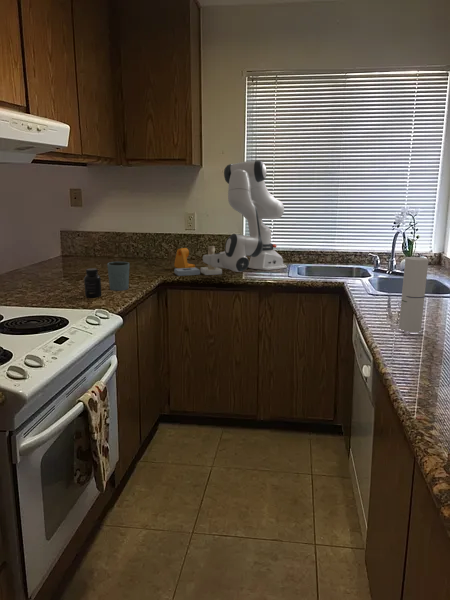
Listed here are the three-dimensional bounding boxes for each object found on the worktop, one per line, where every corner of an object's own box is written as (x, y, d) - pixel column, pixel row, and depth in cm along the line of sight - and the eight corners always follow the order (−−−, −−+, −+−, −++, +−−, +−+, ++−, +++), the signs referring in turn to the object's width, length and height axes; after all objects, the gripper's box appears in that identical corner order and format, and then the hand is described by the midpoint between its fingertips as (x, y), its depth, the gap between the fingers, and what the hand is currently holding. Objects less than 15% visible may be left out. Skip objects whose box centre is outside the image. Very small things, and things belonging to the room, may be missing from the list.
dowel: (213, 271, 271) (213, 245, 268) (215, 272, 268) (215, 246, 264) (207, 271, 270) (207, 246, 266) (209, 272, 267) (209, 247, 263)
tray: (216, 271, 275) (216, 266, 274) (221, 274, 266) (222, 269, 266) (200, 272, 272) (200, 267, 271) (205, 275, 263) (205, 270, 263)
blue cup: (118, 285, 236) (117, 260, 233) (135, 287, 231) (134, 262, 228) (103, 289, 227) (102, 263, 224) (121, 292, 223) (120, 265, 220)
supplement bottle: (88, 294, 217) (86, 267, 214) (103, 294, 217) (102, 267, 214) (83, 298, 211) (81, 270, 208) (99, 298, 210) (97, 270, 208)
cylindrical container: (415, 335, 163) (423, 261, 157) (395, 331, 168) (401, 258, 162) (423, 331, 168) (431, 258, 162) (403, 327, 173) (410, 256, 167)
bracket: (195, 269, 279) (195, 248, 276) (185, 271, 275) (184, 249, 272) (184, 267, 287) (184, 246, 284) (174, 268, 283) (174, 247, 280)
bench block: (195, 271, 272) (195, 267, 271) (200, 274, 265) (200, 269, 264) (174, 273, 268) (174, 268, 267) (178, 275, 261) (178, 271, 260)
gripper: (245, 252, 253) (233, 249, 265) (209, 254, 244) (198, 251, 256) (245, 264, 254) (233, 260, 266) (209, 267, 245) (198, 263, 257)
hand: (215, 256), depth 261 cm, fingers open, 8 cm apart
